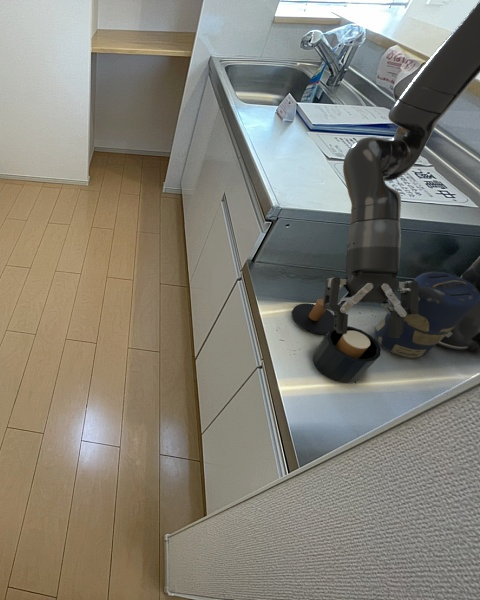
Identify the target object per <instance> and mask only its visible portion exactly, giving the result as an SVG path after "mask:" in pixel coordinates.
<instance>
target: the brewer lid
mask: <svg viewBox="0 0 480 600" xmlns="http://www.w3.org/2000/svg"><path fill="white" fill-rule="evenodd" d="M323 302H324V298H319V299H317V300H316V302H315V303H308V302H307V303H299V304H297V305H295V306H294V307H293V308H292V310H291V318H292V320H293V321H294V323H295V324H296V325H297V326H298V327H300V328H301V329H303V330H305V331H307V332H309V333H312V334H317V335H326V334H327V333H328V331H329V330H330V329H332V328H333V327H334V313H333V312H332V311H331V310H329V309H325V308H324V307H323Z"/></svg>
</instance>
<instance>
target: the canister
mask: <svg viewBox="0 0 480 600" xmlns="http://www.w3.org/2000/svg"><path fill="white" fill-rule="evenodd" d="M460 277H461V276H460ZM460 277H459V276H457V275H454V274H451V273H449V272H443V271H427V272H423V273H421V274H419V275H417V276H416V277H415V278H414V279H413V281H417V282H418V313H417V314H411V315H407V316H405V318H404V327H403V333H402V335H400V337H399V338H392V337H388V336H387V328H388V317H391V316H390V314H389V313H388V312H387V313H386V314H385V315H384V316H383V318H382V319H381V321H380V322H379V323H378V324H377V326H376V327H375V329H374V336H375V338H376V341H377V342H378V344H379V345H381V346H382V347H383V348H385V349H386V350H388V351H389V352H390V353H393V354H395V355H398V356H401V357H405V358H421V357H423V356H426V355H427V354H428V353H429V352H430V351H432V349H433V348H434V347H435V346H436V345H438V344H437V343H438V342H439V341H440V340H442V339H443V338H444V337H445V336H446V335H447V334H448V333H449V332H450V331H451V330H452V329H453V328H454V327H455V326H456V325H457V324H458V323H459V322H460V321H461V320H462V319H463V318H464V317H465V316H466V315H467V314H468V313H469V312H470V311H471V310H472V309H473V308H474V307H475V306H476V305H477V304H478V303H479V301H480V293H479V291H478V290H477V289H476V288H475V287H474V286H473V285H472V284H471V283H469V282H468V281H466V280H464V279H462V278H460ZM398 299H399V301H400V302H401V296H400V297H399V298H398ZM400 305H401V304H400Z"/></svg>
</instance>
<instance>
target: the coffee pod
mask: <svg viewBox="0 0 480 600" xmlns="http://www.w3.org/2000/svg"><path fill="white" fill-rule="evenodd" d="M335 346H336V347H337V349H338V350H340V351H341V352H343V353H345V354H346V355H349V356H351V357H354V358H360V357H361V355H362V354H363V353H364V352H365V351H366V349H367V348H368V347H369V346H370V340H369V339H368V338H367V337H366V336H365V335H364V334H362V333H360V332H357V331H347V333H346V334H343V335H342V337H341V338H340V340H339V341H338V342H337V344H336V345H335Z"/></svg>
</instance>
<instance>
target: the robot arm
mask: <svg viewBox="0 0 480 600" xmlns="http://www.w3.org/2000/svg"><path fill="white" fill-rule="evenodd" d="M479 74H480V0H479V1H477V3H476V4H475V6H474V7H473V8H472V9H471V11H470V12H469V13H468V14H467V15H466V16H465V18H464V19H463V20H462V21H461V22H460V23H459V24H458V26H457V27H456V28H455V29H454V30H452V32H451V33H450V34H449V36H448V37H447V38H446V39H445V40H444V41H443V42H442V43H441V44H440V46H438V48H437V49H435V51H434V52H433V53H432V54H431V55H430V57H429V58H428V59H427V60H426V61H425V62H424V64H423V65H422V66H421V68H420V69H419V70H418V71H417V73H416V74H415V75H414V77H413V78H412V80H411V81H410V82H409V83H408V85H407V86H406V87H405V89H404V90H403V92H402V93H401V94H400V96H399V97H398V98H397V99H396V101H395V102H394V104H393V105H392V107H391V109H390V110H389V112H388V116H387V117H388V120H389V121H390V122H391V123H392V124H394V125H395V126H396V127H397V129H396V131H395V133H394V136H392V138H384V137H377V136H367V137H363V138H360V139H359V140H357V141H355V142H354V143H353V144H352V145H351V146H350V148H349V149H348V150H347V152H346V153H345V156H344V159H343V165H342V173H343V177H344V181H345V186H346V190H347V194H348V197H349V199H350V203H351V206H350V207H351V208H350V224H349V231H348V234H347V242H346V258H345V278H340V277H339V276H335V277H327V279H326V280H325V286H324V287H325V288H324V293H323V299H324V302H323V307H324V308H325V309H327V310H329V311H330V312H332V313H333V315H334V330H336V332H337V333H340V334H346V333H347V326H349V313H348V312H349V311H350V310H351V309H352V307H353V306H355V305H357V304H358V303H370V304H379V305H380V306H381V307H382V308H384V310H385V311H386V312H387V313H389V314H390V316H391V317H388V328H387V336H388V337H392V338H399V337H400V335H402V333H403V327H404V318H405V316H407V315H411V314H417V313H418V282H417V281H414V280H407V281H399V280H398V273H399V271H400V261H401V259H400V258H401V244H402V231H401V211H402V196H401V193H400V192H399V191H398V190H396V189H394V188H392V187H390V186H389V185H387V183H386V182H391V181H394V180H397V179H399V178H400V177H402V176H403V175H405V174H407V173H408V172H409V171H410V170H411V169H412V168H413V167H414V165H416V163H417V161H418V160H419V159H420V156H421V155H422V153H423V151H424V149H425V147H426V146H427V143H428V142H429V140H430V138H431V136H432V134H433V133H434V130H435V128H436V126H437V124H438V122H439V121H441V119H442V118H444V115H445V114H447V112H448V111H449V110H450V109H451V108H452V106H453V105H454V104H455V103H456V102H457V101H458V99H459V98H460V97H461V96H462V95H463V93H464V92H465V91H466V90H467V89H468V88H469V87H470V85H471V84H472V83H473V82H474V80H476V78H477V77H478V76H479ZM460 278H462V279H464V280H466V281H468V282H469V283H471V284H472V285H473V286H474V287H475V288H476V289H477V290H478V291H479V293H480V255H479V256H478V257H477V259H475V260H474V261H473V263H471V265H470V266H469V267H468V268H467V269H466V270H465V271H464V272H463V273H462V274H461V275H460ZM343 287H344V289H345V290H346V291H347V292H346V293H345V294H344V295H343V296H342V297H341V298H340V300H339V293H340V290H341V289H343ZM396 291H398V292H399V294H400V297H401V302H400V301H399V298H398V296H397V295H396V294H395V292H396ZM400 304H401V305H400ZM436 345H438V346H440V347H442V348H446V349H448V350H449V349H450V350H454V351H455V350H457V351H464V350H466V351H470V352H473V351H475V350H476V348H479V349H480V301H479V303H478V304H477V305H476V306H475V307H474V308H473V309H472V310H471V311H470V312H469V313H468V314H467V315H466V316H465V317H464V318H463V319H462V320H461V321H460V322H459V323H458V324H457V325H456V326H455V327H454V328H453V329H452V330H451V331H450V332H449V333H448V334H447V335H446V336H445V337H444V338H443V339H442V340H440V341H439V342H438V343H437V344H436Z"/></svg>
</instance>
